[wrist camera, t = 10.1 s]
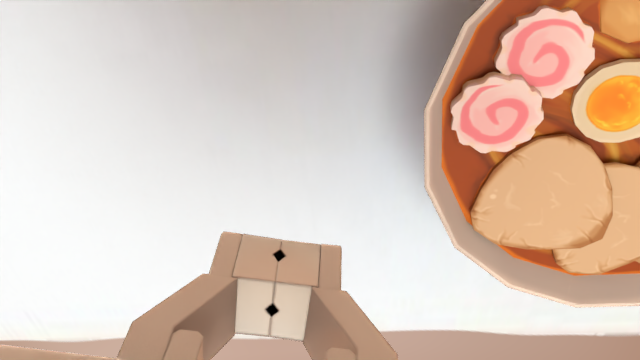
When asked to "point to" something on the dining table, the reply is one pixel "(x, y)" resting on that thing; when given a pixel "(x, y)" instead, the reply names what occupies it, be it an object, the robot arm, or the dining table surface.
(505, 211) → the ramen bowl
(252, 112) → the dining table surface
